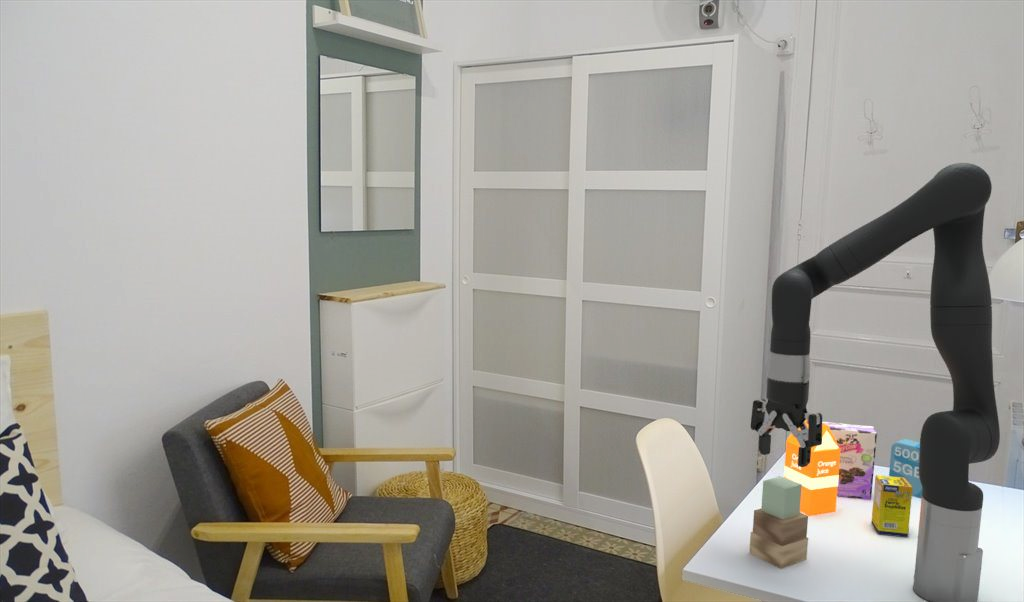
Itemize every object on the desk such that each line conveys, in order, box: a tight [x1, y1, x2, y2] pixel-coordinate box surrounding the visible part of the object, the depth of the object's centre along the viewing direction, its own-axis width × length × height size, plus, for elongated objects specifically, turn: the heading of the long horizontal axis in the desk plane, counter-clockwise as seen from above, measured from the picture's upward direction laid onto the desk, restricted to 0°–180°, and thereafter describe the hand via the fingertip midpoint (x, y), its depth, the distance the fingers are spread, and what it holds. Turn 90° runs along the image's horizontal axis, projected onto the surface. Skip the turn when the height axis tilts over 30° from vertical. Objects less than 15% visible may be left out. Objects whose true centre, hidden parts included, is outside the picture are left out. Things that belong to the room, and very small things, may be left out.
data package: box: [888, 438, 922, 499], centre depth 187 cm, size 12×4×12 cm, turn 40°
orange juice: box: [783, 420, 841, 517], centre depth 177 cm, size 8×9×20 cm
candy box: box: [822, 421, 878, 501], centre depth 186 cm, size 14×6×16 cm, turn 73°
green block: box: [760, 476, 802, 520], centre depth 151 cm, size 5×5×6 cm
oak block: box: [748, 531, 809, 569], centre depth 152 cm, size 8×8×4 cm
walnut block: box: [752, 508, 809, 546], centre depth 151 cm, size 7×7×4 cm
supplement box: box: [871, 474, 913, 538], centre depth 165 cm, size 6×6×11 cm
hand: (783, 460), depth 150 cm, fingers open, 8 cm apart
